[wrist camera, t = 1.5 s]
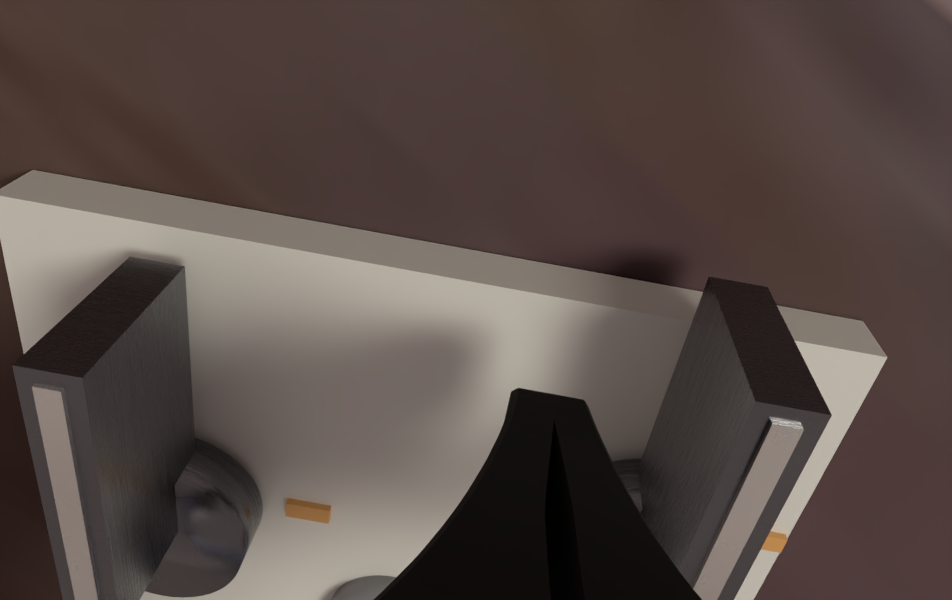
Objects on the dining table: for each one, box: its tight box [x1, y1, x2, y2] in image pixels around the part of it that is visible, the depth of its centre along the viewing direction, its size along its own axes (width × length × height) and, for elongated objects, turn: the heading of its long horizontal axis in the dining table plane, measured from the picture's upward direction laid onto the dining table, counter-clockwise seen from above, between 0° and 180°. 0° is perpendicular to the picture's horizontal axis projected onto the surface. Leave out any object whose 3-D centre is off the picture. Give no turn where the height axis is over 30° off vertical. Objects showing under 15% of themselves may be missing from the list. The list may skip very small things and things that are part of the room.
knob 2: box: [12, 257, 263, 600], centre depth 17 cm, size 10×4×4 cm, turn 171°
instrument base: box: [0, 170, 887, 600], centre depth 20 cm, size 14×20×2 cm
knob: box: [612, 277, 832, 600], centre depth 16 cm, size 10×4×4 cm, turn 171°
